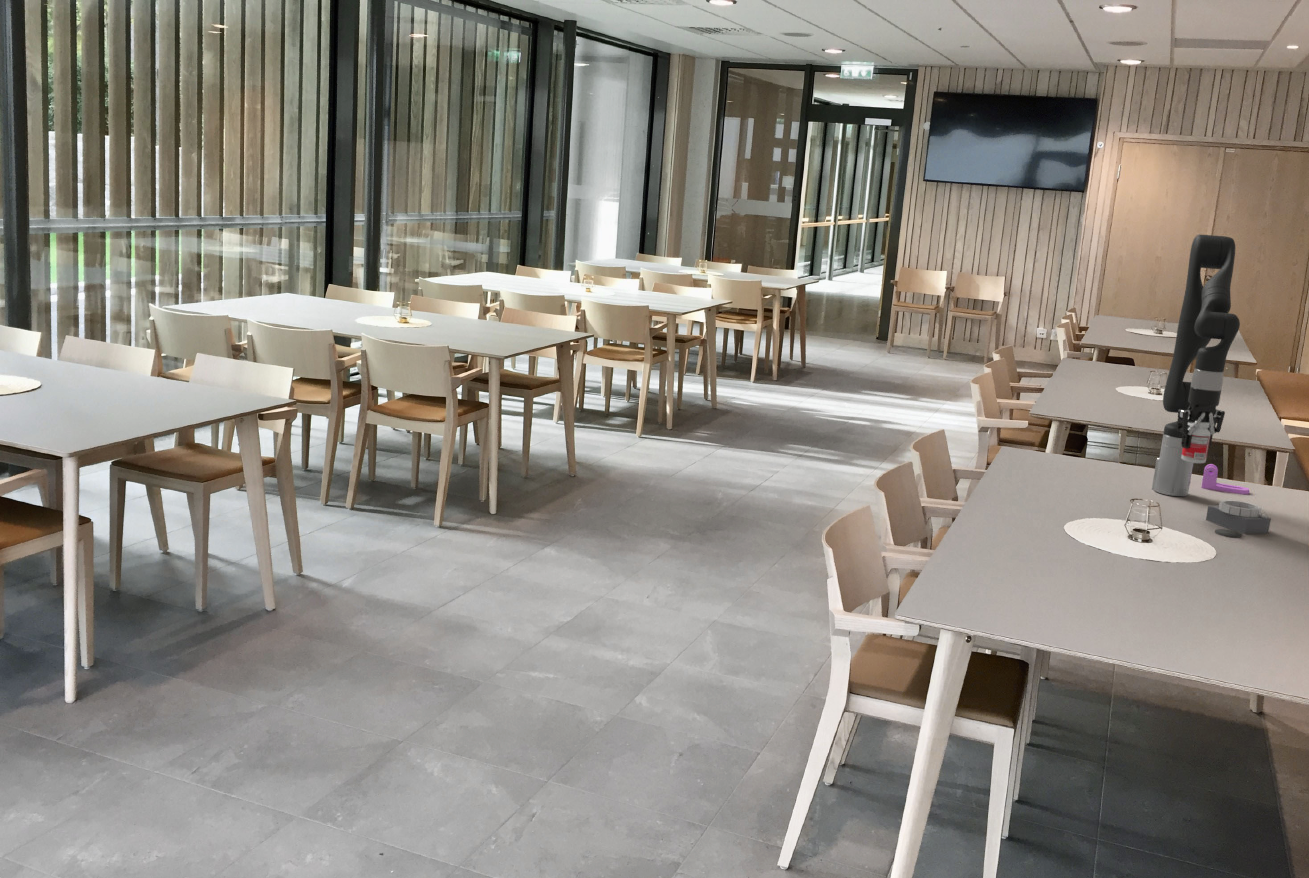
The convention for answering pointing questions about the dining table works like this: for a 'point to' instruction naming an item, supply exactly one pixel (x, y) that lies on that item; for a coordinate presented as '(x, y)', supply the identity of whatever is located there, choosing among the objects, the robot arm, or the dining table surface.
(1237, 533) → the lens cap
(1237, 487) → the bracket
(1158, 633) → the dining table surface
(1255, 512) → the gray ring-topped block
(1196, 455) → the pill bottle
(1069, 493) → the dining table surface
